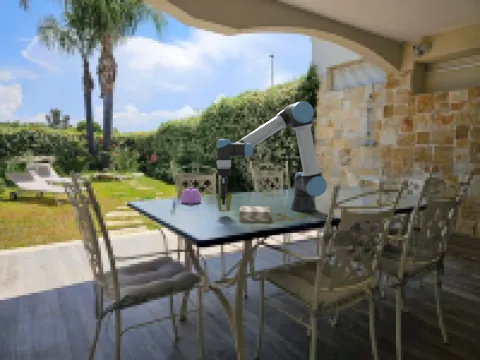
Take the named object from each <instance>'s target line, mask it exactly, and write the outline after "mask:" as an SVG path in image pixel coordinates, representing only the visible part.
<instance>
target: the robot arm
mask: <svg viewBox="0 0 480 360" xmlns="http://www.w3.org/2000/svg"><path fill="white" fill-rule="evenodd" d="M314 113H315V110H314V108H313V106H312V105H311V103H309V102H307V101H298V102H294V103H290V104H289V105H287V106H286V107H285V108H283V110H281V111H280V112H278V113H277V114H276V115H275V117H273V118H272V119H270V120H269V121H267V122H266V123H264V124H263V125H260V126H259V127H257V128H256V129H255V130H253V131H252V132H250V133H248V134H247V135H246V136H243V137H242V138H241V139H239V140H238V141H236V142H232V141H231V139H230V138H229V139H219V138H218V140H217V141H216V162H215V164H216V167H217V169H216V175H217V176H221V177H220V179H219V181H220V194H221V197H220V199H221V211H220V212H226V194H228V182H229V180H228V179H229V178H228V177H227V176H231V175H232V169H231V167H232V157H233V158H234V157H236V158H237V157H238V158H239V157H241V158H242V157H243V158H248V157H252V155H253V152H254V148H253V147H255V146H256V145H258V144H259V143H261V142H263V141H264V140H266V139H267V138H269V137H270V136H272V135H274V134H275V133H277V132H278V131H280V130H282V129H286V128H288V127H289V126H290V127H291V128H292V129H293V130H294V131H295V135H296V141H297V146H298V151H299V156H300V161H301V168H302V172H301V171H300V172H296V173H295V174H294V196H293V200H292V203H291V204H290V205H291V206H290V209H291V211H296V212H314V211H316V210H317V204H316V202H315V199H314V197H320V196H322V195H324V194H325V193H326V190H327V189H328V188H327V187H328V183H327V180H326V179H325V178H324V177H323V173H322V172H323V171H322V170H321V169H320V168H319V167H318V166H319V165H318V161H317V156H316V149H315V143H314V137H313V133H312V126H313V118H314V115H315V114H314Z"/></svg>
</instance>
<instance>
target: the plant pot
mask: <svg viewBox="0 0 480 360" xmlns="http://www.w3.org/2000/svg"><path fill="white" fill-rule="evenodd" d="M215 197H216V200H217V207H218V211H220V212H222V211H221V199H220V197H221V193H218V194H215ZM232 198H233V194H232V193H227V194H226V211H228V212H229V211H230V210H231V204H232V203H231V202H232ZM226 211H225V212H226Z"/></svg>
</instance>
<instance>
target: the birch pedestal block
mask: <svg viewBox="0 0 480 360" xmlns="http://www.w3.org/2000/svg"><path fill="white" fill-rule="evenodd" d="M238 216H239V220H238V221H240V222H271V210H270V207H269V206H263V205H262V206H261V205H260V206H259V205H258V206H257V205H256V206H255V205H253V206H251V205H239V215H238Z"/></svg>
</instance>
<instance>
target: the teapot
mask: <svg viewBox="0 0 480 360" xmlns="http://www.w3.org/2000/svg"><path fill="white" fill-rule="evenodd" d="M180 201H181V202H183V203H182V204H185V203H188V204H187V205H194V204H193V203H197V204H199V202H200V203H201V202H202V195H201V193H200V192H199V190H198V189H196V188H194V187H193V186H189V187H188V188H186V189H184V190H183V192H182V194H181V197H180Z"/></svg>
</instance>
